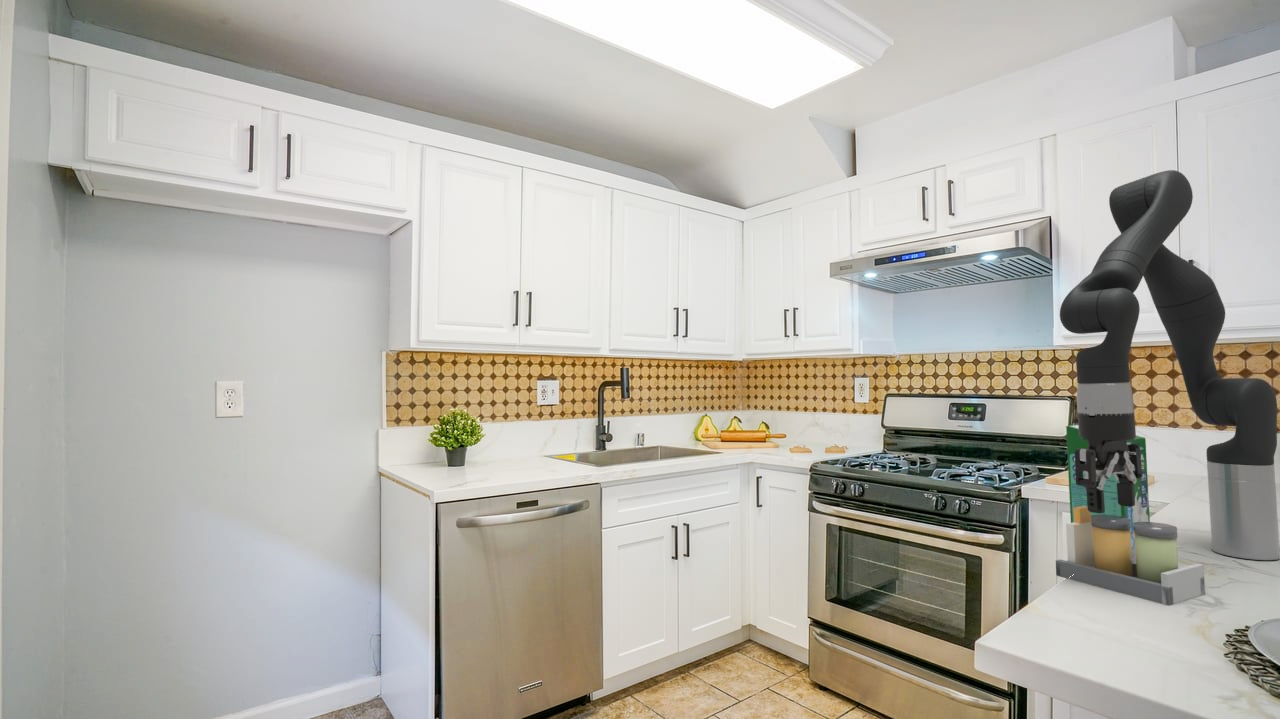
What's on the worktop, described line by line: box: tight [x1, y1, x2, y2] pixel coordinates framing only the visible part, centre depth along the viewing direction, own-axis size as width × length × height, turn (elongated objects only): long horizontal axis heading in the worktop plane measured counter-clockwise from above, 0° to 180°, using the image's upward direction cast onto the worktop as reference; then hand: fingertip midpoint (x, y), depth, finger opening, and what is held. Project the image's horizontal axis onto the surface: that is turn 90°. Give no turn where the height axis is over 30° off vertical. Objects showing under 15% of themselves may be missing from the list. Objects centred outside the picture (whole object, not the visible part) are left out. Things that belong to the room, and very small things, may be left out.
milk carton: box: [1065, 424, 1151, 562], centre depth 117 cm, size 9×9×25 cm
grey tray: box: [1055, 559, 1206, 606], centre depth 100 cm, size 10×16×5 cm, turn 25°
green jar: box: [1133, 521, 1179, 584], centre depth 96 cm, size 5×5×10 cm
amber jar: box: [1091, 515, 1133, 577], centre depth 102 cm, size 5×5×10 cm
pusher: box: [1065, 506, 1094, 567], centre depth 106 cm, size 7×1×11 cm, turn 115°
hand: (1111, 509), depth 102 cm, fingers open, 8 cm apart
